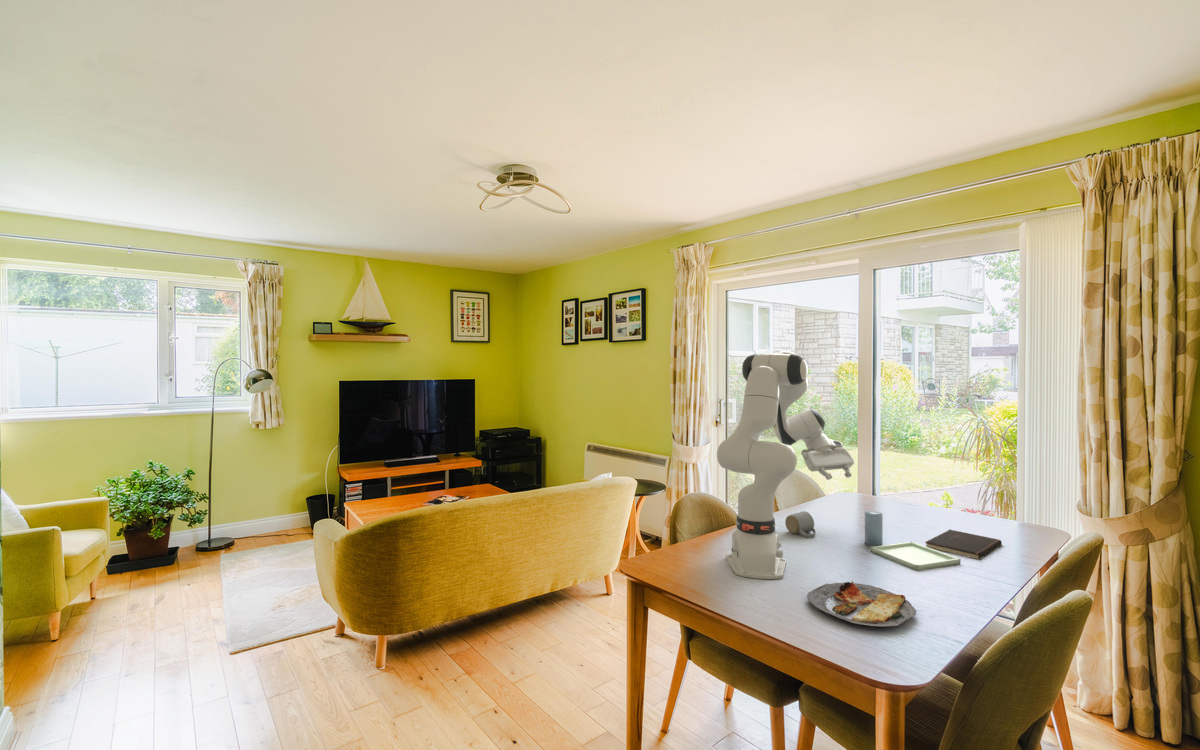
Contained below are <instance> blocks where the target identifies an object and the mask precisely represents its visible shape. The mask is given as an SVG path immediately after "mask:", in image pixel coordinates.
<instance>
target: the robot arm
mask: <svg viewBox="0 0 1200 750" xmlns="http://www.w3.org/2000/svg"><path fill="white" fill-rule="evenodd" d="M741 367H742V368H741V369H742V371H741V373H742V376H743V378H744V380H745V381H746V383H745V390H744V393H743V394H744V396H743V404H742V409H741V417H740V420H739V423H738V424H737V426H736V428H735V430H734V431H733V433H732V434H731V435H729V436H728V437H727V438H726V439H724V440H722V441H721V442H720V444H719V445H718V448H717V450H716V459H717V461H718V464H719V465H720V467H721V468H722V469H725V470H727V471H730V472H734V473H741V474H746V475H747V474H749V475H754V480H753V483H751V484H748V485H745V486H743V487H742V488H741V489H740V490H739V492H738V494H737V515H736V519H735V522H736V529H734V531H732V533H731V553H727V554H726V555H725V559H726V562H727V564H728V565H729V566H730V568H731V570H732V572H733V573H734V574H735V575H737V576H739V577H745V578H749V579H750V578H752V579H761V580H777V579H778V580H779V579H783V578H784V576H785V571H786V566H787V559H786V558H784V555H783V554H784V553H783V552H784V551H783V550H782V549H780V548H782V542H780V535H779V534H778V533H777V532H776V520H775V517H774V509H775V508H774V507H775V506H774V505H775V497H776V495H775V494H776V492H777V489H778V487H779V486H780V484H781V483H782V481H784V480H785V479H786V478H788V477H790V476H791V475H792V474H793V473H794V471H795V470H796V467H797V462H798V457H797V454H796V451H795V450H794V449H793V448H792V445H794V444H796V443H797V442H799V441H801V440H802V442H804V444H805V447H806V449H802V450H801V452H800V454H801V456H802V458H803V462H804V463H805V465H806V467H807V469H808V470H809V471H810V472H818V473H819V474H821V475H822V476H823V477H825V479H826V480H827V481H828V480H831V479H833V476H832V475H831V473H830V472H828V471H830V470H831V471H832V470H840V469H841V470H843V471H844V472H845V473H844V477H845V478H851V477H852V473H851V472H850V471H851V470H850V468H852V466H853V465H854V464H855V461H854V458H853V457H852V455H851V454H850V453H849V451H848V450H847V449H846V448H845V447H844V443H842V442H841V441H839V440H834V439H831V438H828V436H827V435H826V434H825V433H823V431H824V429H825V425H826V421H825V420H824V418H823V417H822V415H821V414H820V413H819V411H818V410H817V409H814V408H807V409H806V408H805V409H804V410H802V411H800V412H798V413H796V414H794V415H792V416H789V417H787V410H788V409H789V408H790V407H791V406H792V404H794V403H795V402H796V401H798V400H799V399H800V398H802V397H803V395H805V393H806V391H807V390H808V387H809V385H808V384H809V383H808V378H807V377H808V372H809V369H808V363H807V360H806V359H805V358H804V356H802V355H800V354H796V353H794V352H792V351H790V350H789V351H788V350H781V351H779V352H776V353H774V352H771V353H770V352H769V353H761V354H756V353H755V354H752V355H749V356H747V357H746V358H745V359H744V360H743V362H742V365H741ZM773 427H774V431H775V432H774V433H775V435H776V438H777V439H778V441H779V442H777V441H765V440H759V437H760V436H761V434H763V433H764V432H766V431H768V430H770V429H772V428H773Z"/></svg>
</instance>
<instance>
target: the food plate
mask: <svg viewBox="0 0 1200 750" xmlns="http://www.w3.org/2000/svg"><path fill="white" fill-rule="evenodd" d="M806 596H807V597H806V599H807V600H808V602H809V603H811V604H812V605H813V606H814V607H815V608H817V609H818V610H820V611H823V612H824V613H825V614H829V615H830V616H833V617H836V618H837V619H840V620H844V621H847V622H849V623H851V624H856V625H863V626H867V627H897V626H899V625H901V624H903V623H905V622H907V621H909V620H910V619H911V618H912V617H914V616H915V615H917V610H916V608H915V607H914V606H913V605H912V604H911V603H910V601H909V600H907V599H906V596H905V595H903V594H896V593H894V592H891V591H888V590H886V589H883V588H881V587H876V586H874V585H869V584H862V583H857V582H853V581H851V582H850V581H847V582H834V583H825V584H822V585H821V586H818V587H816V588H814V589H812V590H811V591H808V593H807V595H806ZM830 601H833V602H834V603H833V604H832V603H831V604H830V606H831V605H832V606H833V605H835V606H833V607H832V610H830V608H827V605H828V602H830ZM852 613H856V614H855V615H853V617H851V618H848V617H845V616H848V615H850V614H852Z"/></svg>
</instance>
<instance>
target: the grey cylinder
mask: <svg viewBox="0 0 1200 750" xmlns="http://www.w3.org/2000/svg"><path fill="white" fill-rule="evenodd" d="M883 518H884V517H883V513H882V512H880V511H876V510H875V511H874V510H865V511H864V544H865V543H866V544H865V545H867V546H870V545H871V546H870V547H874V546H882V545H884V544H883V542H884V541H883V540H884V539H883V534H884V533H883V532H884V531H883V526H884V525H883V524H884V523H883V522H884V521H883Z"/></svg>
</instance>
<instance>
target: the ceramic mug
mask: <svg viewBox="0 0 1200 750" xmlns="http://www.w3.org/2000/svg"><path fill="white" fill-rule="evenodd" d="M784 523H785V527H786V529H787V531H788V532H789V533H791V534H793V533H794V534H793V535H803V537H805V536H806V537H805V538H809V537H812V538H815V536H816V529H815V520H814V518H813V516H812V515H811V514H810V513H809V512H807V511H804V510H802V511H798V512H795V513H791V514H789V515H787V517H786V518H785V522H784ZM811 532H812V534H811ZM799 533H800V534H799Z"/></svg>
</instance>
